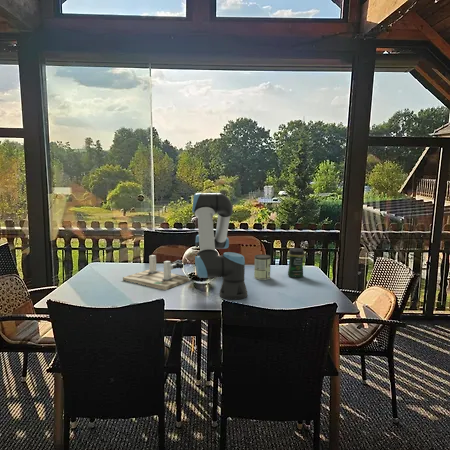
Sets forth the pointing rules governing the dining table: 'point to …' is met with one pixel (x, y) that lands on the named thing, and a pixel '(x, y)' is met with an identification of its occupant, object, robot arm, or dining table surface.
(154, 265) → the grey lane knob
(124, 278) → the striped wooden board
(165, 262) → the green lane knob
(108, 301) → the dining table surface
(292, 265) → the coffee jar
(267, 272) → the coffee can
